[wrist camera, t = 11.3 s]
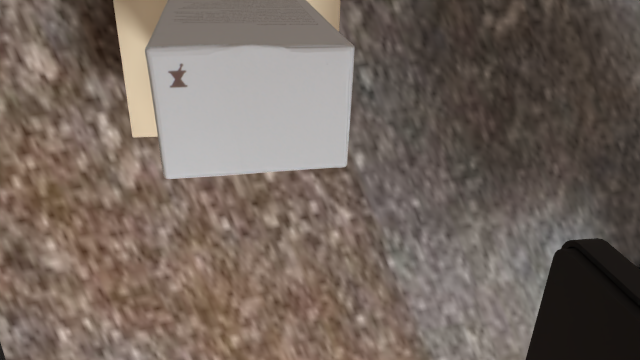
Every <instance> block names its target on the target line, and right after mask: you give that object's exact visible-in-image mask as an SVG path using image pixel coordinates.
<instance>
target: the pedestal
mask: <svg viewBox="0 0 640 360" xmlns="http://www.w3.org/2000/svg"><path fill="white" fill-rule="evenodd" d="M167 1H168V0H113V3H114V10H115V17H116V24H117V31H118V38H119V45H120V52H121V59H122V66H123V73H124V80H125V87H126V94H127V101H128V108H129V115H130V122H131V129H132V136H133V137H153V136H158V134H157V127H156V120H155V114H154V107H153V100H152V93H151V87H150V80H149V74H148V67H147V61H146V56H145V48H146V46H147V44H148V42H149V40H150V38H151V36H152V34H153V32H154V29H155V27H156V25H157V23H158V21H159V18H160V16H161V14H162V12H163V10H164V7H165V5H166V3H167ZM306 1H307V2H308V3H309V4H310V5H311V6H312V7H314V8H315V9H316V10H317V11H318V12H319V13H320V14H321V15H322V16H323V17H324V18H325V19H326V20H327V21H328V22H329V23H330V24H331V25H332V26H333V27H334V28H335V29H336V30H337V31H339V20H340V0H306Z"/></svg>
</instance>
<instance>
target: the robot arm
mask: <svg viewBox="0 0 640 360" xmlns="http://www.w3.org/2000/svg"><path fill="white" fill-rule="evenodd" d="M0 360H5V356H4V353H3V350H2V347H1V343H0ZM526 360H640V269H638V268H637V267H636V266H635V265H634V264H633V263H631V262H630V261H629V260H628V259H627V258H625V257H624V256H623V255H622V254H621V253H620V252H618V251H617V250H616V249H615V248H614V247H612V246H611V245H610V244H609V243H608V242H606V241H605V240H603V239H598V238H596V239H582V240H570V241H567V242H565V244H564V245H563V246H562V248H561V249H560V250H557V252H556V253H555V255H554V257H553V260H552V264H551V268H550V272H549V275H548V279H547V283H546V286H545V290H544V294H543V297H542V301H541V305H540V309H539V312H538V316H537V320H536V323H535V327H534V331H533V334H532V338H531V342H530V346H529V349H528V353H527V357H526Z"/></svg>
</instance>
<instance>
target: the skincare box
mask: <svg viewBox="0 0 640 360" xmlns="http://www.w3.org/2000/svg"><path fill="white" fill-rule="evenodd" d="M145 56H146V61H147V67H148V74H149V80H150V87H151V93H152V100H153V107H154V114H155V120H156V127H157V134H158V141H159V148H160V155H161V162H162V169H163V175H164V177H165V178H167V179H175V178H192V177H207V176H222V175H237V174H250V173H263V172H276V171H289V170H304V169H319V168H334V167H346V165H347V156H348V142H349V128H350V112H351V97H352V83H353V65H354V45H353V44H352V43H350V42H349V41H348V40H347V39H346V38H345V37H344V36H343V35H342V34H341V33H340V32H339V31H337V30H336V29H335V28H334V27H333V26H332V25H331V24H330V23H329V22H328V21H327V20H326V19H325V18H324V17H323V16H322V15H321V14H320V13H319V12H318V11H317V10H316V9H315V8H314V7H312V6H311V5H310V4H309V3H308V2H307V1H306V0H168V1H167V3H166V5H165V7H164V10H163V12H162V14H161V16H160V18H159V21H158V23H157V25H156V27H155V29H154V32H153V34H152V36H151V38H150V40H149V42H148V44H147V46H146V48H145Z"/></svg>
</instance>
